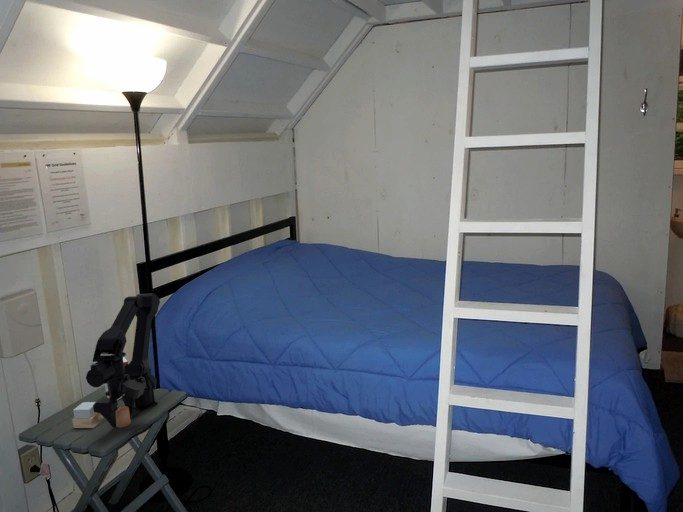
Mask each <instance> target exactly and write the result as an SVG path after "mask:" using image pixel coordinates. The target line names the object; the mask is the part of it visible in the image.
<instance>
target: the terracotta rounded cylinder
mask: <svg viewBox="0 0 683 512" xmlns="http://www.w3.org/2000/svg"><path fill="white" fill-rule="evenodd" d="M118 407H119V408H118V410H117V411H116V428H124V427H127V426H129V425H131V423H132V422H131V416H130V415H131V414H129V408H128V407H127V406H125V405H124V406H118Z"/></svg>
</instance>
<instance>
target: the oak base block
mask: <svg viewBox="0 0 683 512" xmlns="http://www.w3.org/2000/svg"><path fill="white" fill-rule="evenodd" d="M104 420H105V418H104V417H103V416H102V415H101V414H100V413H97V414H95V415H94V416H93V417H92V418H83V419H75V418H74V417H73V418H72V425H73V429H74V428H93V429H94V428H95V427H96V426H98V425H99V424H100V423H101V422H102V421H104Z"/></svg>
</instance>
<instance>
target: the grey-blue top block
mask: <svg viewBox="0 0 683 512" xmlns="http://www.w3.org/2000/svg"><path fill="white" fill-rule="evenodd" d="M96 402H97V401H91V402H90V401H83V402H82V403H80V404H79V405H78V406H77V407H75V408H74V409H73V410H72V411H73V418H75V419H83V418H92V417H93V416H94V415H95V414H97V412H94V410H93V405H94V404H95V403H96Z"/></svg>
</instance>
